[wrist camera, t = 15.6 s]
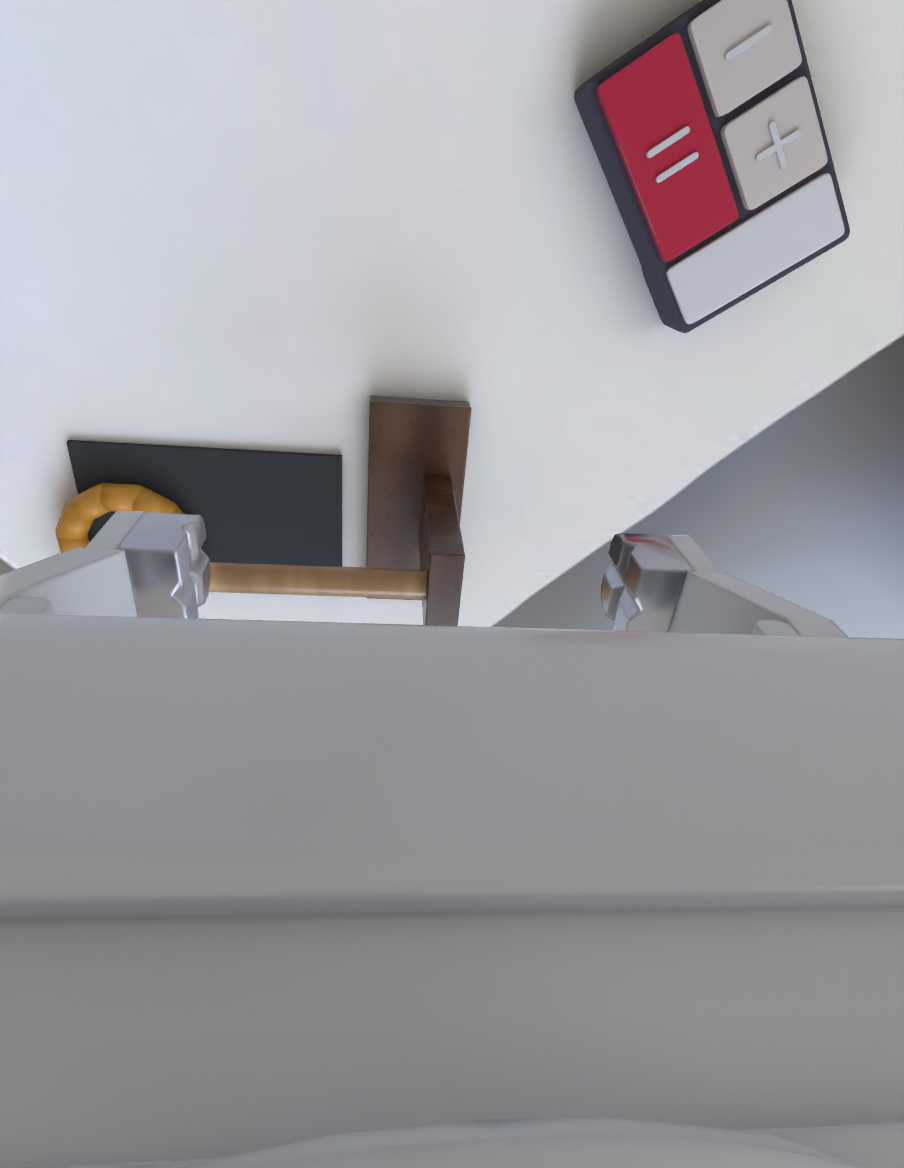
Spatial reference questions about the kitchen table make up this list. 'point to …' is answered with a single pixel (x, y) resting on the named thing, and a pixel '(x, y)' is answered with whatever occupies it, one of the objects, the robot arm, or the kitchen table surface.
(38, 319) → the kitchen table surface
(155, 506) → the ring
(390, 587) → the rack
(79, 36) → the kitchen table surface
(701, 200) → the calculator
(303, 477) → the mat
